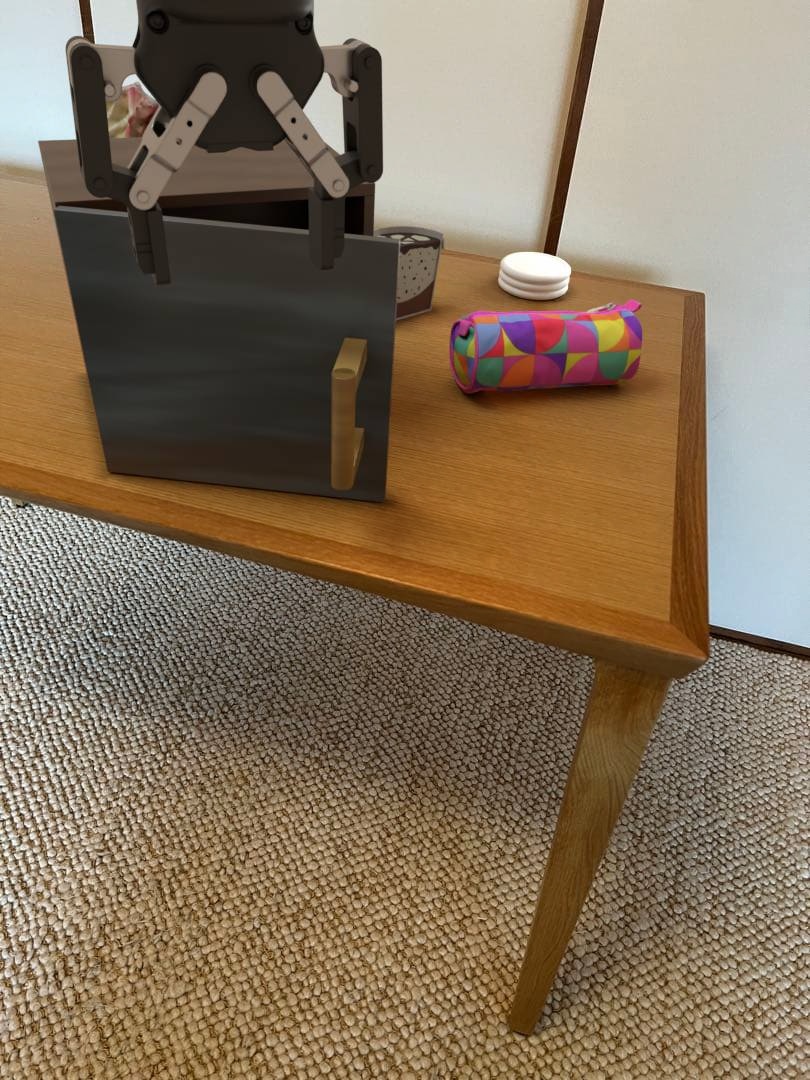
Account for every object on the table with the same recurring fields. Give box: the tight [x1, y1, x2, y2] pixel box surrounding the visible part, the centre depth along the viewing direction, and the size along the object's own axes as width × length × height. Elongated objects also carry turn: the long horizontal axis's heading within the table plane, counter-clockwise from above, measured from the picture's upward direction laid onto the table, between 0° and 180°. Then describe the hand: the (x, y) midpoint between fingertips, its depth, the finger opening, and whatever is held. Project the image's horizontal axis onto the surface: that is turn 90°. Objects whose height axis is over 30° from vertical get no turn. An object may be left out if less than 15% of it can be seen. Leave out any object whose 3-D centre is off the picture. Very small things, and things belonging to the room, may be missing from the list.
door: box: [54, 206, 400, 503], centre depth 65 cm, size 8×26×24 cm, turn 84°
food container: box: [373, 225, 446, 322], centre depth 105 cm, size 12×6×10 cm, turn 130°
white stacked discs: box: [497, 251, 572, 301], centre depth 116 cm, size 10×10×4 cm
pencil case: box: [448, 298, 643, 394], centre depth 92 cm, size 22×9×9 cm, turn 108°
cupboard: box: [37, 137, 376, 405], centre depth 80 cm, size 18×26×24 cm
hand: (244, 272), depth 43 cm, fingers open, 8 cm apart
